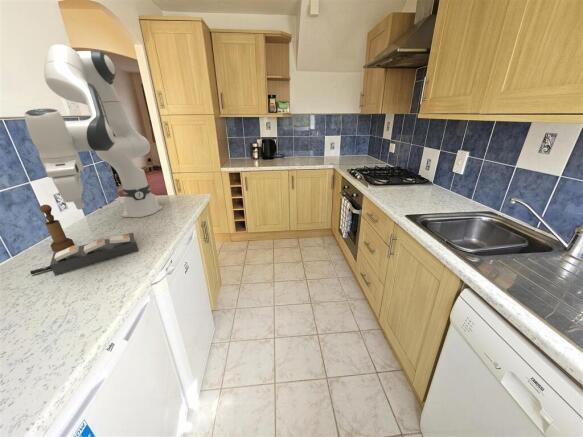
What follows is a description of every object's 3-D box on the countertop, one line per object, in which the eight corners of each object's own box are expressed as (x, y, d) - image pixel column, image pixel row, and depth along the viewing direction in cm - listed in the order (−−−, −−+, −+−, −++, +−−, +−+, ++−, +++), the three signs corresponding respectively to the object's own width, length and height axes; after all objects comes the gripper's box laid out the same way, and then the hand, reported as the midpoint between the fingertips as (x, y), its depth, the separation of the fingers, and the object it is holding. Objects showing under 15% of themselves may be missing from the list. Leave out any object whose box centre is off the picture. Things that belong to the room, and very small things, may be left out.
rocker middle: (86, 248, 86) (83, 245, 85) (104, 240, 89) (102, 237, 88) (85, 253, 83) (83, 250, 82) (105, 244, 86) (102, 241, 85)
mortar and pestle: (54, 253, 92) (33, 209, 85) (50, 248, 96) (30, 206, 89) (76, 246, 97) (58, 204, 90) (71, 241, 101) (53, 200, 93)
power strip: (35, 268, 83) (29, 256, 81) (135, 241, 100) (132, 230, 98) (29, 282, 76) (22, 270, 74) (138, 251, 92) (135, 240, 90)
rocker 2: (109, 239, 89) (109, 235, 89) (128, 237, 93) (128, 234, 93) (109, 243, 86) (109, 239, 86) (129, 241, 90) (129, 238, 90)
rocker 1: (58, 255, 82) (55, 252, 81) (78, 246, 85) (76, 243, 84) (56, 261, 79) (53, 258, 78) (78, 251, 82) (75, 248, 81)
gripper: (54, 163, 81) (71, 202, 86) (44, 172, 65) (65, 219, 71) (78, 160, 84) (93, 198, 90) (74, 169, 69) (92, 214, 74)
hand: (81, 208), depth 80 cm, fingers closed
